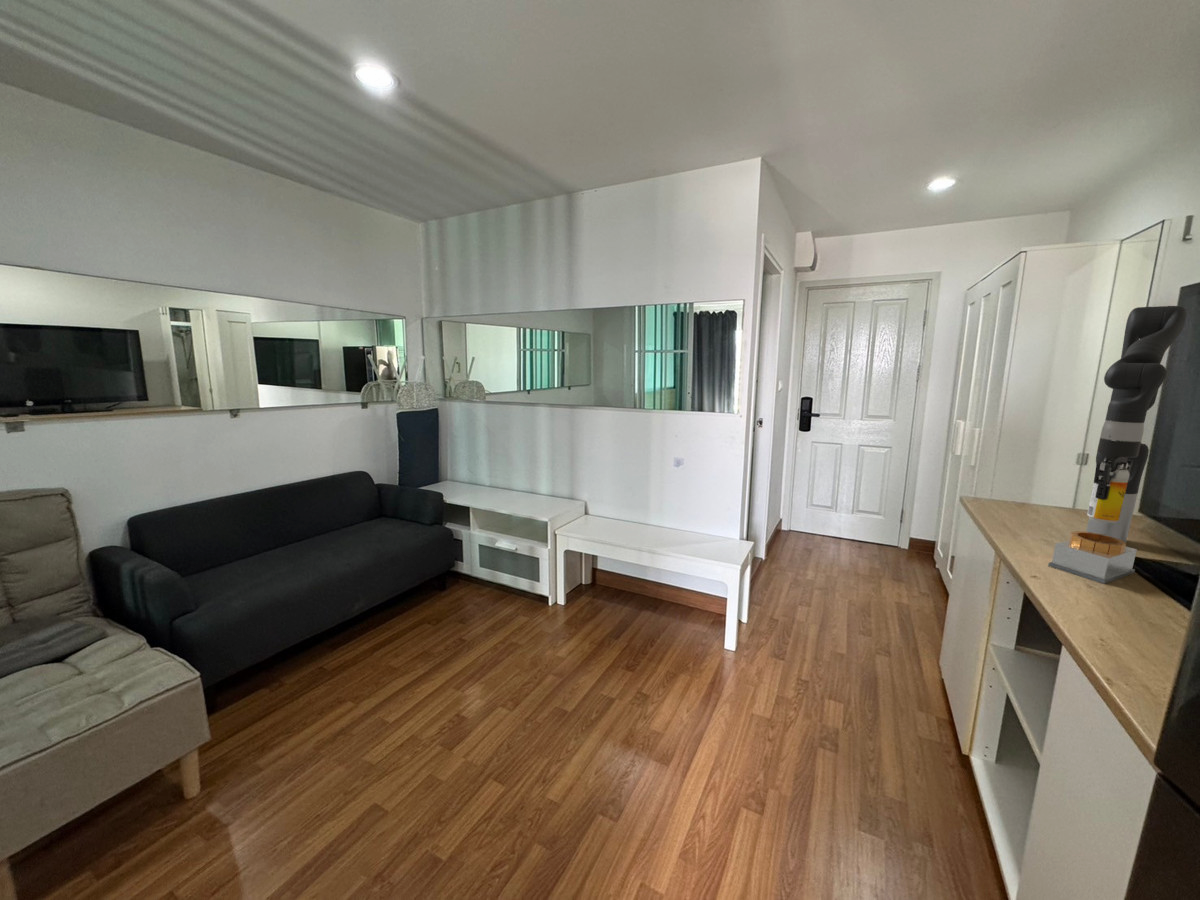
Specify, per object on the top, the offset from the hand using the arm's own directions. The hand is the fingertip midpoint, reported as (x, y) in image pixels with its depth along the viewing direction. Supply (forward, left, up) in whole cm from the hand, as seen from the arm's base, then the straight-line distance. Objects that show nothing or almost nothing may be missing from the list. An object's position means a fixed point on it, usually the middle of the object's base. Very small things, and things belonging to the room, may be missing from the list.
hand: (1107, 497), depth 128 cm
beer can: (0, 0, -7) cm, 7 cm away
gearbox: (-2, 0, -21) cm, 22 cm away
